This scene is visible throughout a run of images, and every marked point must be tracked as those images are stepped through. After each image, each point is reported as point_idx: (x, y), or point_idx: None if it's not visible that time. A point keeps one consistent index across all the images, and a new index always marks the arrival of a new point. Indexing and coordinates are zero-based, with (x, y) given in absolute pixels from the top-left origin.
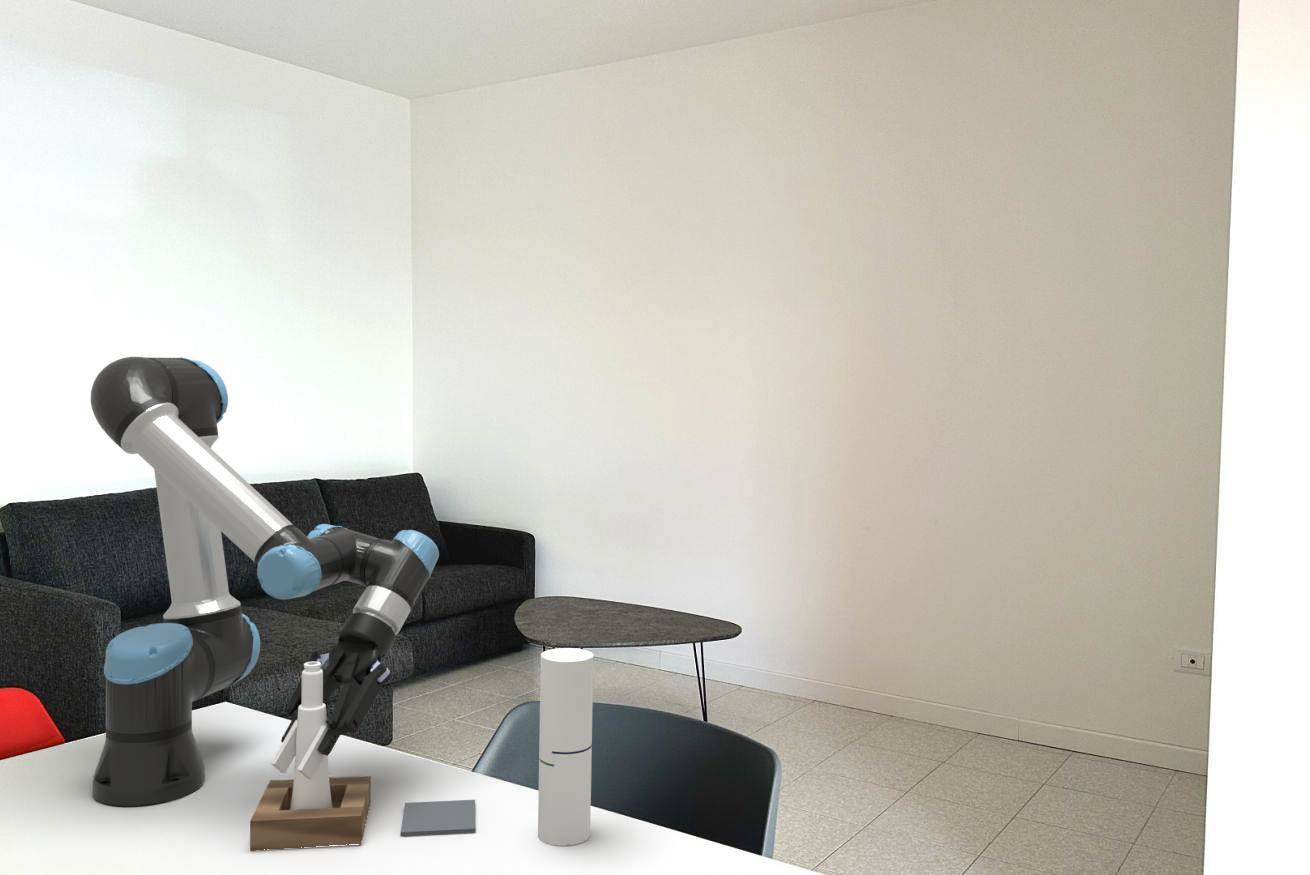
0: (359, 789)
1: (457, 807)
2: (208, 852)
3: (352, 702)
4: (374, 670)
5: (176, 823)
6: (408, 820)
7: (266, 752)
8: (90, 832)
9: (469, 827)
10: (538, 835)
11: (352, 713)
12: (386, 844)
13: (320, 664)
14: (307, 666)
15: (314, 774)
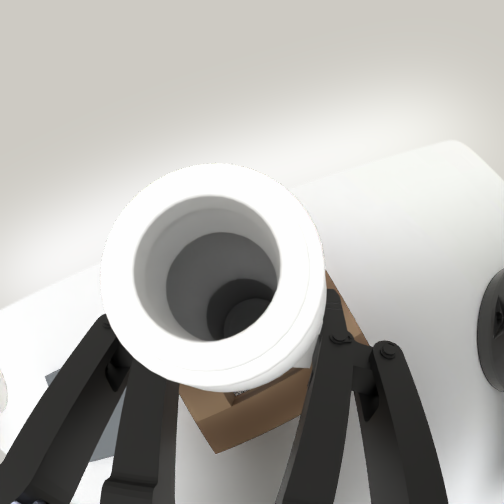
0: (195, 394)
1: None
2: (332, 207)
3: (86, 380)
4: (3, 499)
5: (431, 261)
6: None
7: (467, 483)
8: (473, 207)
9: (50, 377)
10: (1, 376)
11: (84, 341)
12: None
13: (102, 296)
14: (210, 167)
15: None
